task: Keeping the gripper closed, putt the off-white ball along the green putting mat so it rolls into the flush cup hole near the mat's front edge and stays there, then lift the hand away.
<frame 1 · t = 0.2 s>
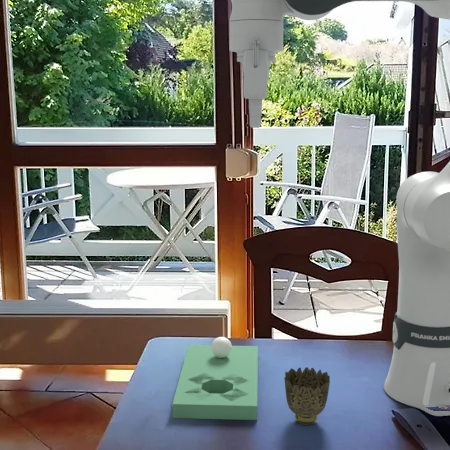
hand: (255, 125, 115), 47 cm above the table, tool pointing down, fingers open, 8 cm apart
putting mat: (219, 384, 125), on the table
ball: (221, 347, 131), point 4 cm above the table, touching putting mat
cup: (305, 422, 112), on the table
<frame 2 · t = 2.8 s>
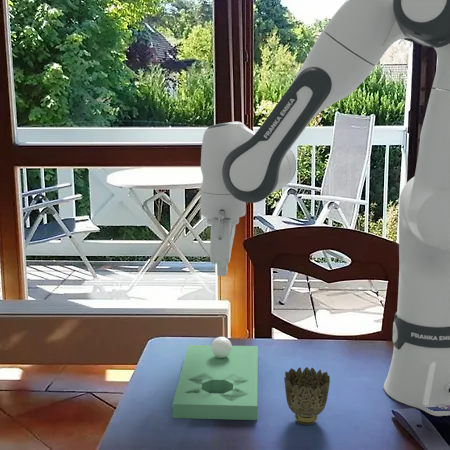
hand: (222, 274, 136), 17 cm above the table, tool pointing down, fingers closed
nothing on the table moved.
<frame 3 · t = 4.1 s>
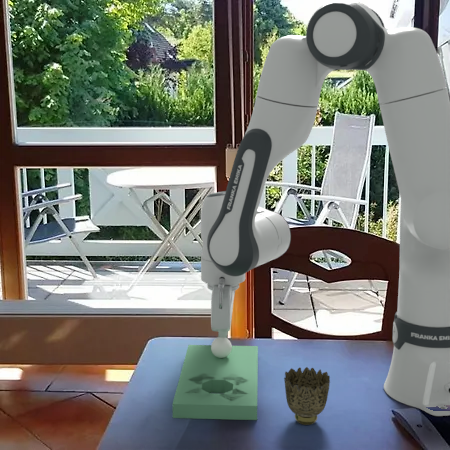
hand: (223, 337, 138), 4 cm above the table, tool pointing down, fingers closed
nothing on the table moved.
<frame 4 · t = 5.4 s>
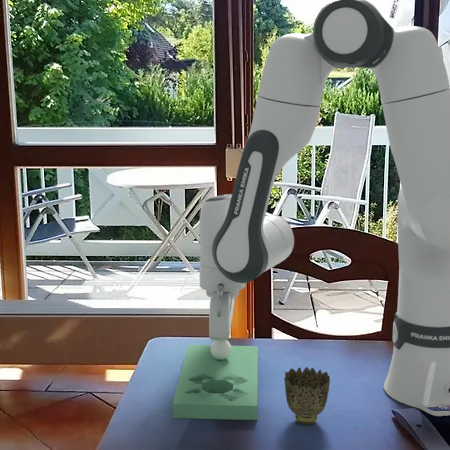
hand: (222, 345, 134), 4 cm above the table, tool pointing down, fingers closed
ball: (221, 349, 130), point 4 cm above the table, tilted 26°, touching gripper, putting mat
everything else where it was.
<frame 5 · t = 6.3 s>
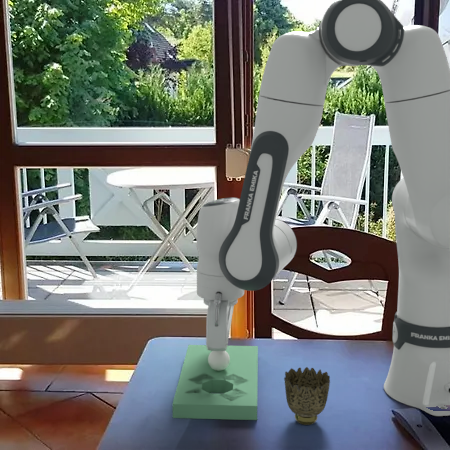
hand: (220, 355, 129), 4 cm above the table, tool pointing down, fingers closed
ball: (218, 359, 125), point 4 cm above the table, tilted 171°, touching gripper, putting mat
everything else where it was.
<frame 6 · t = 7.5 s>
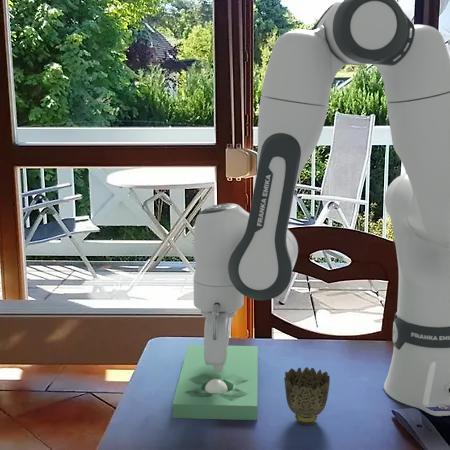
hand: (218, 368, 123), 4 cm above the table, tool pointing down, fingers closed
ball: (216, 390, 118), point 2 cm above the table, tilted 55°
everything else where it was.
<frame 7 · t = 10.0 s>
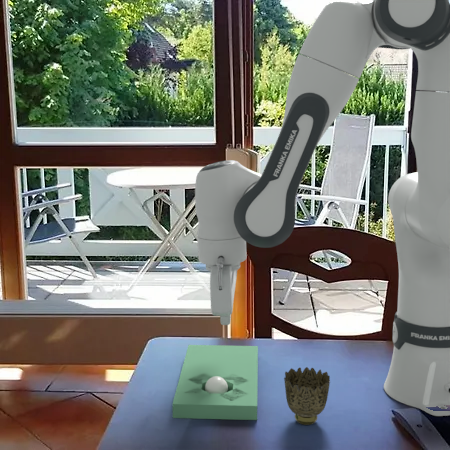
hand: (225, 322, 127), 11 cm above the table, tool pointing down, fingers closed
ball: (216, 388, 120), point 2 cm above the table, tilted 24°
everything else where it was.
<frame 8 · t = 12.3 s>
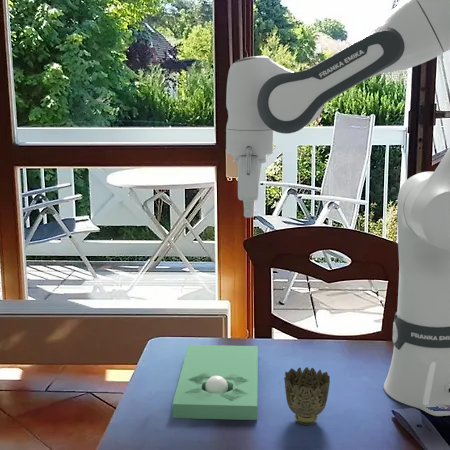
hand: (248, 216, 132), 29 cm above the table, tool pointing down, fingers closed
ball: (216, 387, 120), point 2 cm above the table, tilted 16°
everything else where it was.
at the end: ball 0.7 cm from the target spot on the putting mat, point 2.0 cm above the putting mat's base; the gripper is holding nothing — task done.
